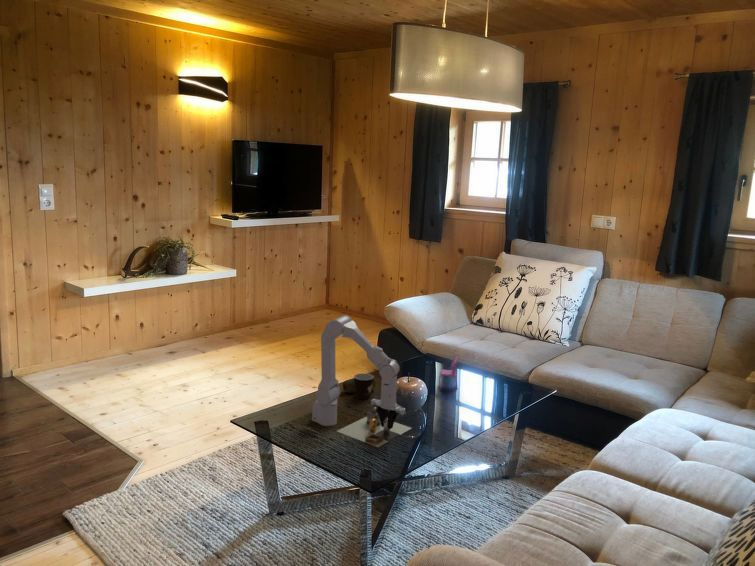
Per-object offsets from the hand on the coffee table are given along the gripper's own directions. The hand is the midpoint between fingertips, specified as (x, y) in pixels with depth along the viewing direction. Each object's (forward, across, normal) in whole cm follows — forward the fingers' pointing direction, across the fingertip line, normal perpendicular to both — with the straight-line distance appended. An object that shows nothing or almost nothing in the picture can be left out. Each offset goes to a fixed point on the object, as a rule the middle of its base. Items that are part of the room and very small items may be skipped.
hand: (386, 427), depth 231 cm
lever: (+3, +7, 0) cm, 7 cm away
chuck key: (+3, 0, 0) cm, 3 cm away
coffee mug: (+4, +30, -26) cm, 40 cm away
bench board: (+4, +6, -1) cm, 8 cm away
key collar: (+3, 0, +7) cm, 8 cm away
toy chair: (+4, +10, -63) cm, 64 cm away
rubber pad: (+3, 0, 0) cm, 3 cm away
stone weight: (+4, +38, -30) cm, 49 cm away
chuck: (+3, +10, -6) cm, 13 cm away
